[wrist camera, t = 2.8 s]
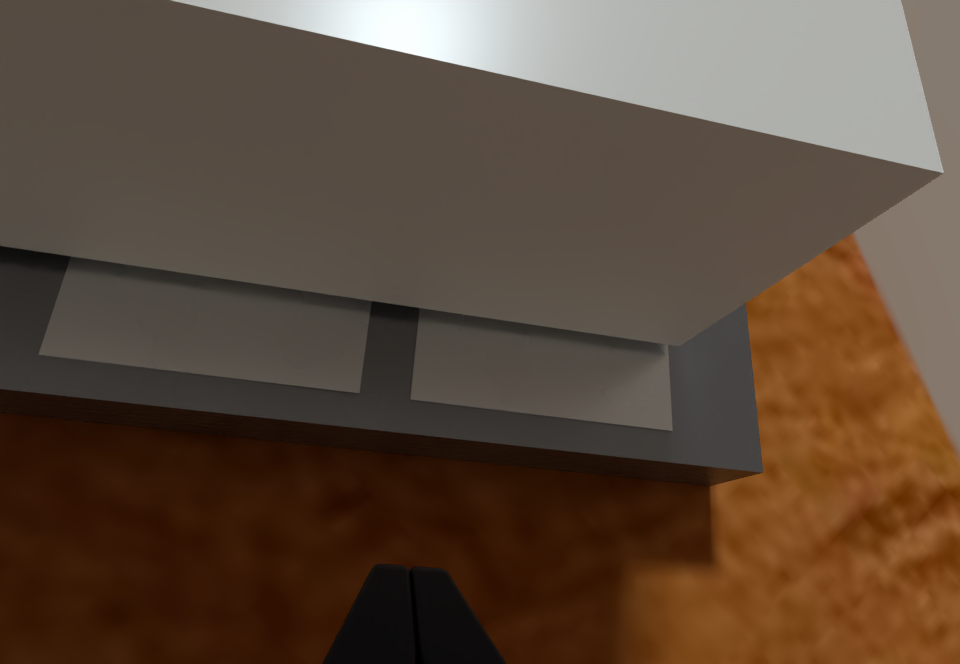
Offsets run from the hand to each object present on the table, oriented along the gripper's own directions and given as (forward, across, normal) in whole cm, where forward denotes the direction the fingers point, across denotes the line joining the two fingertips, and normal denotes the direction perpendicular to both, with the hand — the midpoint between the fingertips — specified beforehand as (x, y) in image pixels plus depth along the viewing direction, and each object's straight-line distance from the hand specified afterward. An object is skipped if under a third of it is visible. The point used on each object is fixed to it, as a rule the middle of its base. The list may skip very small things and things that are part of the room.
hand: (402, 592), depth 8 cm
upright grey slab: (+10, +3, -1) cm, 11 cm away
